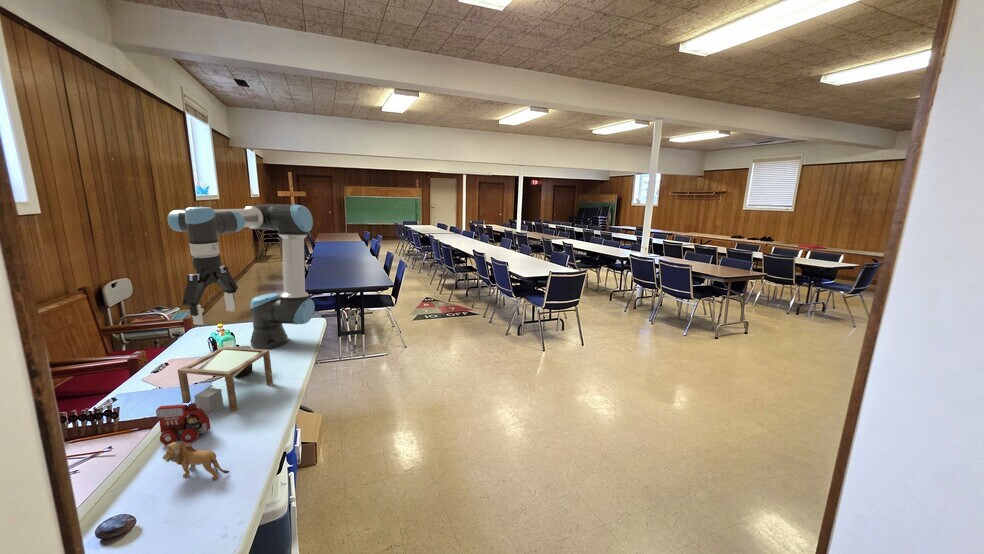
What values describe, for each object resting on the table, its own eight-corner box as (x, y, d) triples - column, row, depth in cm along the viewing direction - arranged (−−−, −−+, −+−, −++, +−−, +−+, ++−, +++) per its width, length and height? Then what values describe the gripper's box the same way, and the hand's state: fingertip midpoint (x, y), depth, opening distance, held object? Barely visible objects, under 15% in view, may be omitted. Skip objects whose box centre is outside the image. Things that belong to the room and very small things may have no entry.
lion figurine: (162, 481, 94) (156, 450, 92) (178, 466, 99) (173, 436, 97) (223, 481, 95) (218, 450, 93) (236, 466, 100) (232, 436, 98)
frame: (228, 379, 144) (223, 346, 141) (272, 383, 142) (269, 349, 139) (183, 407, 125) (177, 369, 122) (234, 411, 123) (229, 374, 120)
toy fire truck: (204, 442, 109) (199, 410, 106) (154, 446, 106) (147, 413, 104) (216, 427, 115) (211, 397, 113) (169, 431, 113) (163, 400, 110)
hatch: (225, 351, 139) (224, 349, 138) (260, 354, 137) (260, 351, 137) (194, 374, 126) (194, 371, 126) (233, 377, 125) (232, 375, 125)
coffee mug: (242, 380, 143) (239, 356, 141) (223, 377, 145) (220, 353, 143) (266, 367, 154) (264, 344, 152) (248, 364, 156) (245, 341, 154)
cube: (194, 395, 121) (196, 412, 123) (208, 397, 121) (211, 413, 122) (207, 387, 126) (209, 404, 127) (221, 389, 126) (223, 405, 127)
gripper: (183, 263, 110) (194, 331, 115) (244, 249, 134) (252, 306, 139) (159, 262, 111) (171, 330, 116) (224, 248, 135) (232, 305, 140)
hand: (215, 317), depth 127 cm, fingers open, 13 cm apart
